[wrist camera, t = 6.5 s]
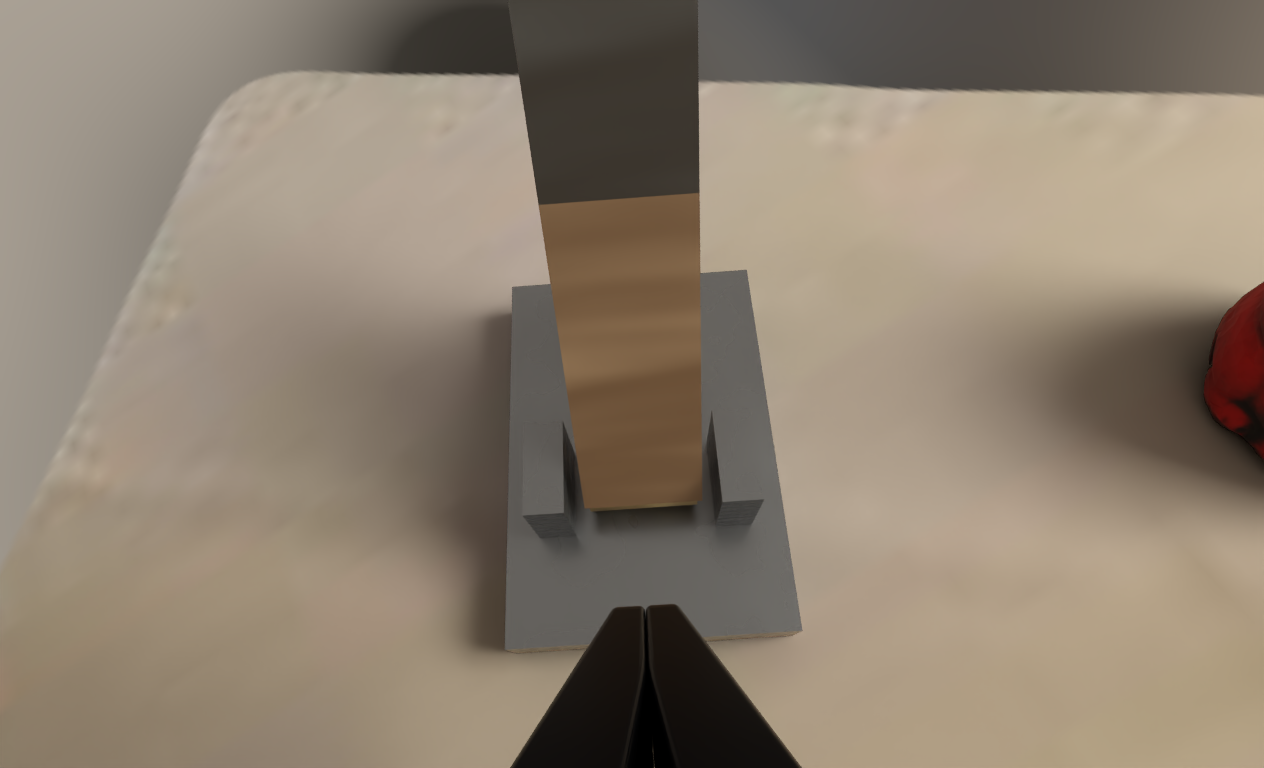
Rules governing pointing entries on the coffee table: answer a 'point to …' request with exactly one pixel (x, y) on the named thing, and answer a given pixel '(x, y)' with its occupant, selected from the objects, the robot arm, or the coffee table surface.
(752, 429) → the base
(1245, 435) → the decorative doll
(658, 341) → the lever
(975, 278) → the coffee table surface
